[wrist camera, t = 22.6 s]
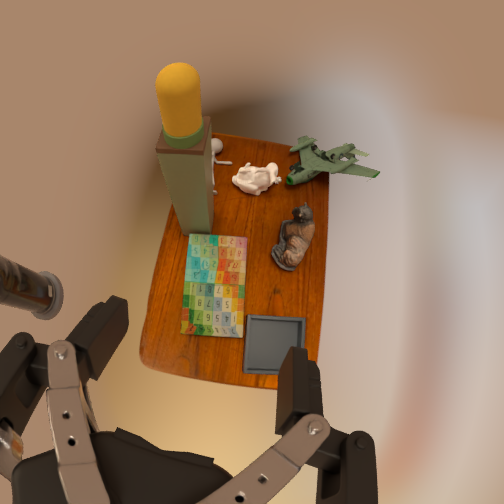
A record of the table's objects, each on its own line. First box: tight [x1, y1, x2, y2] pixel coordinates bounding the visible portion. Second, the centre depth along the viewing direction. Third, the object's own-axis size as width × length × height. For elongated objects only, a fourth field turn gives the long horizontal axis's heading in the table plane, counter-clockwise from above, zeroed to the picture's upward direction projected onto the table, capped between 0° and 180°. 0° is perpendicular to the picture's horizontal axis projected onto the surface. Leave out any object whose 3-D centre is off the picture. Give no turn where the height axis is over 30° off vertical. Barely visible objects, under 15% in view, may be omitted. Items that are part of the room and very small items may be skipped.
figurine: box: [211, 138, 232, 195], centre depth 62 cm, size 6×6×15 cm
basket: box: [242, 314, 306, 375], centre depth 52 cm, size 11×11×4 cm
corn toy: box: [155, 63, 204, 149], centre depth 26 cm, size 5×5×11 cm
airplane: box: [286, 136, 380, 185], centre depth 66 cm, size 24×23×10 cm
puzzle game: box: [181, 233, 247, 338], centre depth 54 cm, size 12×5×20 cm
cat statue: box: [271, 202, 315, 271], centre depth 56 cm, size 12×7×10 cm, turn 164°
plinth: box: [156, 116, 214, 236], centre depth 46 cm, size 6×6×30 cm
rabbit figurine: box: [232, 163, 282, 195], centre depth 59 cm, size 12×8×10 cm, turn 88°
